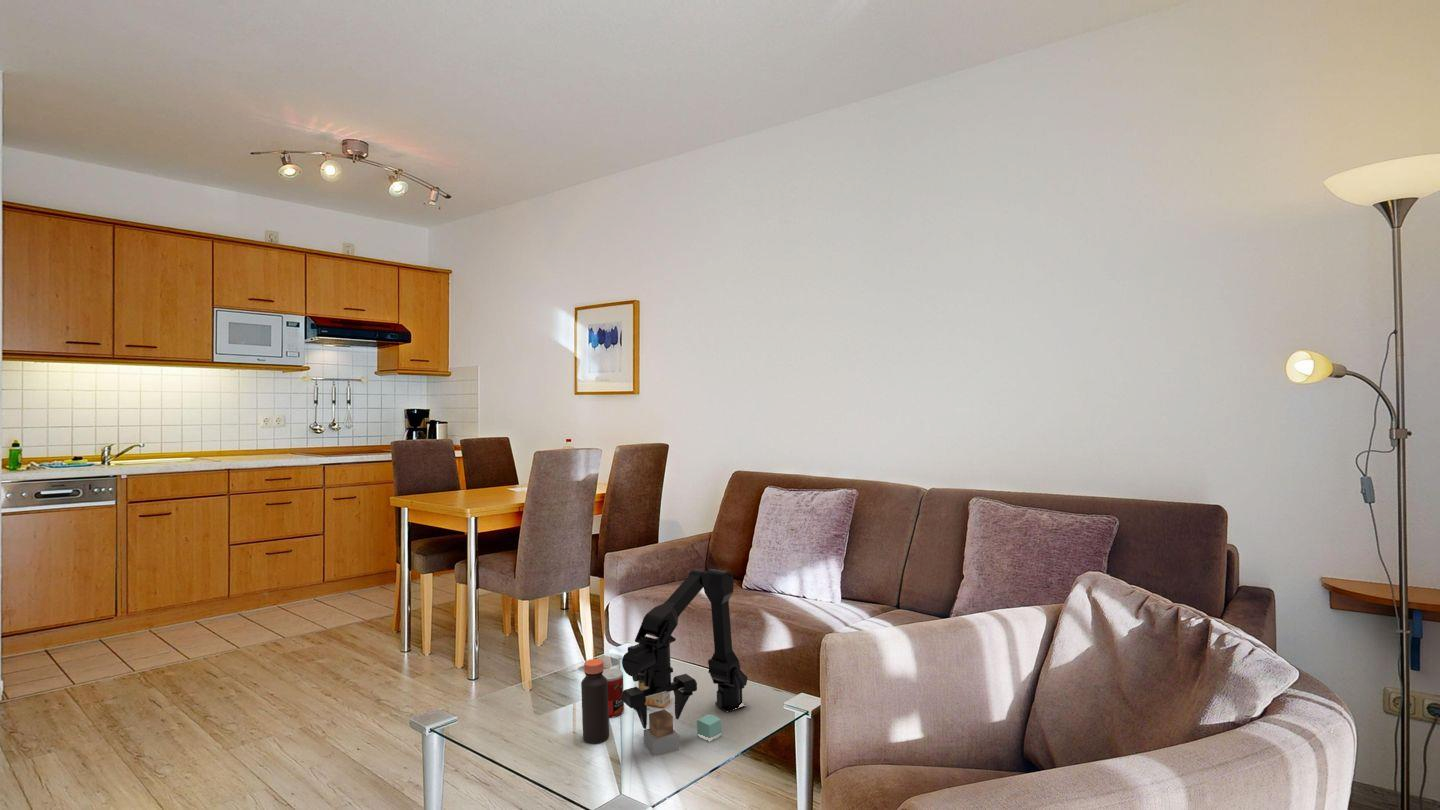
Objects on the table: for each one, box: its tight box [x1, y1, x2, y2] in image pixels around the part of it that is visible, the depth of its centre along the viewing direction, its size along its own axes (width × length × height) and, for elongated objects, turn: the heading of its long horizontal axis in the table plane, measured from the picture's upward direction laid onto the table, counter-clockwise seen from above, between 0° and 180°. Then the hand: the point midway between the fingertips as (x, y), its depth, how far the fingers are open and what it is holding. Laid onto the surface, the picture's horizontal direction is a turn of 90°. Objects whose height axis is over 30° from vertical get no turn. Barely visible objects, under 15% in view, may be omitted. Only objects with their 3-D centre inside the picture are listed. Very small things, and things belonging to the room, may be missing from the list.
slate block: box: [643, 728, 680, 757], centre depth 189 cm, size 7×7×4 cm
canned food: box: [602, 668, 625, 719], centre depth 209 cm, size 8×8×11 cm
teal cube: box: [696, 713, 723, 738], centre depth 194 cm, size 4×4×4 cm
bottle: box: [580, 658, 610, 744], centre depth 194 cm, size 7×7×20 cm
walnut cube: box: [648, 708, 674, 738], centre depth 189 cm, size 4×4×4 cm
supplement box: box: [637, 681, 671, 709], centre depth 214 cm, size 8×5×13 cm, turn 67°
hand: (660, 723), depth 189 cm, fingers open, 9 cm apart
